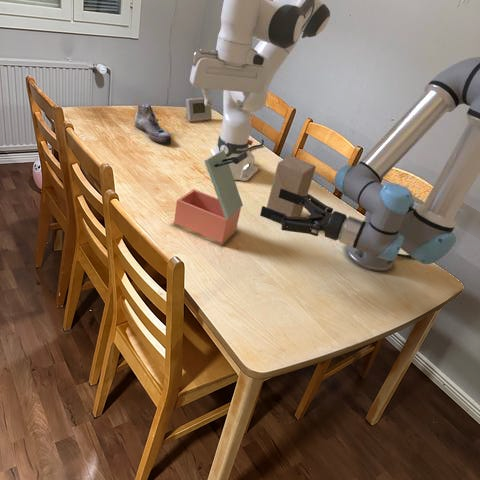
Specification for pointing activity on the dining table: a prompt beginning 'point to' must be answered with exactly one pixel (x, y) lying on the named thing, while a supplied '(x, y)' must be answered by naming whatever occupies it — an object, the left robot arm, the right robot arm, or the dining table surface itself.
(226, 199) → the lid
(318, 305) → the dining table surface
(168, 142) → the shoe
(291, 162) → the wooden block
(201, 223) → the chest
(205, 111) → the digital clock
